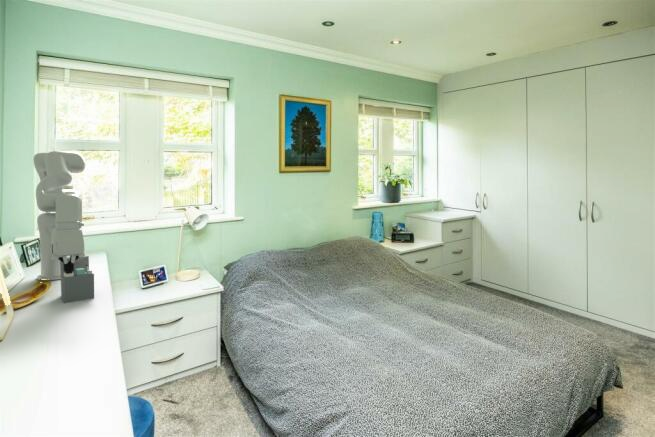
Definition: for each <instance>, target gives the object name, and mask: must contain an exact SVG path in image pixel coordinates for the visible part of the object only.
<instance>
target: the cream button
mask: <svg viewBox="0 0 655 437" xmlns="http://www.w3.org/2000/svg"><path fill="white" fill-rule="evenodd" d="M72 276H74V273H73V272H72V273H71V274H70V273H69V274H67V273H64V277H72Z"/></svg>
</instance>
